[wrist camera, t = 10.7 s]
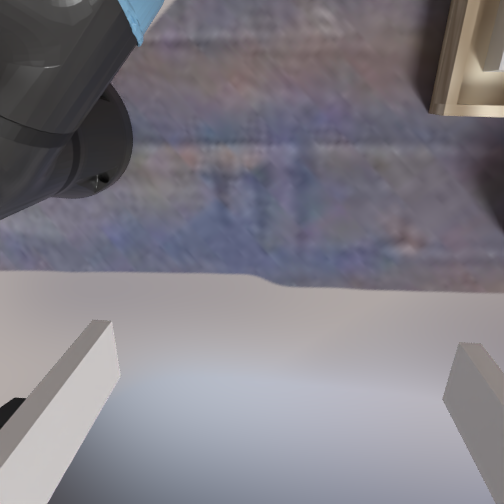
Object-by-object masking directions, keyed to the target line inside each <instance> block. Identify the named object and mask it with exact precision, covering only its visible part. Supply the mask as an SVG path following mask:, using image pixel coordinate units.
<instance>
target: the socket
mask: <svg viewBox="0 0 504 504" xmlns="http://www.w3.org/2000/svg"><path fill="white" fill-rule="evenodd" d="M483 72H504V0H500V3H499V7H498V11H497V15H496V19H495V23H494V28H493V32H492V36H491V40H490V44H489V48H488V52H487V56H486V60H485V64H484V68H483Z"/></svg>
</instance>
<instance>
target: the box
mask: <svg viewBox="0 0 504 504" xmlns="http://www.w3.org/2000/svg"><path fill="white" fill-rule="evenodd" d="M499 3H500V0H451V4H450V9H449V14H448V19H447V24H446V29H445V34H444V39H443V44H442V49H441V54H440V59H439V64H438V69H437V74H436V79H435V84H434V89H433V94H432V99H431V104H430V109H429V114H436V115H443V116H477V117H504V72H483V68H484V64H485V60H486V56H487V52H488V48H489V44H490V40H491V36H492V32H493V28H494V23H495V19H496V15H497V11H498V7H499Z"/></svg>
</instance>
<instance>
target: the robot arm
mask: <svg viewBox="0 0 504 504" xmlns="http://www.w3.org/2000/svg"><path fill="white" fill-rule="evenodd" d="M163 2H164V0H0V220H1V219H4V218H6V217H8V216H10V215H12V214H14V213H17V212H19V211H21V210H23V209H25V208H28V207H30V206H32V205H34V204H36V203H38V202H41V201H43V200H45V199H47V198H49V197H56V198H68V199H77V198H84V197H89V196H92V195H95V194H97V193H99V192H101V191H103V190H105V189H107V188H108V187H110V186H111V185H113V184H114V183H115V182H116V181H117V180H118V179H119V178H120V177H121V176H122V174H123V173H124V171H125V170H126V168H127V166H128V163H129V161H130V158H131V153H132V146H133V134H132V127H131V122H130V118H129V115H128V112H127V110H126V107H125V105H124V103H123V101H122V100H121V98H120V96H119V95H118V93H117V92H116V91H115V89H114V88H113V87H112V86H111V84H110V82H111V81H112V79H113V78H114V76H115V75H116V73H117V72H118V71H119V69H120V68H121V66H122V65H123V63H124V62H125V61H126V59H127V58H128V56H129V55H130V53H131V52H132V50H133V49H134V48H135V46H136V45H137V46H138V47H139V46H141V44H142V43H143V35H144V33H145V32H146V30H147V29H148V27H149V26H150V24H151V22H152V21H153V19H154V18H155V16H156V14H157V13H158V11H159V10H160V8H161V6H162V5H163ZM120 376H121V375H120V368H119V363H118V356H117V350H116V344H115V337H114V331H113V325H112V321H104V320H92V321H91V323H90V324H89V325H88V326H87V328H86V329H85V330H84V331H83V332H82V333H81V335H80V336H79V337H78V338H77V339H76V340H75V342H74V343H73V344H72V345H71V346H70V348H69V349H68V350H67V351H66V352H65V353H64V355H63V356H62V357H61V359H60V360H59V361H58V362H57V363H56V364H55V365H54V367H53V368H52V369H51V370H50V371H49V373H48V374H47V375H46V376H45V377H44V379H43V380H42V381H41V382H40V383H39V384H38V386H37V387H36V388H35V389H34V390H33V391H32V393H31V394H30V395H29V396H28V397H27V398H13V399H12V400H10V401H9V402H8V403H6V404H5V405H3V406H2V407H1V408H0V504H47V503H48V501H49V499H50V498H51V496H52V494H53V492H54V491H55V489H56V487H57V485H58V484H59V482H60V480H61V479H62V477H63V475H64V473H65V472H66V470H67V468H68V467H69V465H70V463H71V461H72V460H73V458H74V456H75V454H76V452H77V451H78V449H79V447H80V446H81V444H82V442H83V441H84V439H85V437H86V435H87V434H88V432H89V430H90V428H91V427H92V425H93V423H94V421H95V420H96V418H97V416H98V415H99V413H100V411H101V409H102V408H103V406H104V404H105V402H106V400H107V399H108V397H109V396H110V394H111V392H112V390H113V389H114V387H115V385H116V383H117V382H118V380H119V378H120ZM443 401H444V403H445V405H446V407H447V409H448V411H449V413H450V415H451V417H452V419H453V421H454V423H455V425H456V427H457V429H458V431H459V433H460V435H461V436H462V438H463V440H464V442H465V444H466V446H467V448H468V450H469V452H470V454H471V456H472V458H473V460H474V462H475V464H476V466H477V468H478V470H479V472H480V474H481V475H482V477H483V479H484V481H485V483H486V485H487V487H488V489H489V491H490V493H491V495H492V497H493V499H494V501H495V503H496V504H504V373H503V372H502V370H501V369H500V368H499V366H498V365H497V364H496V363H495V361H494V360H493V359H492V358H491V356H490V355H489V354H488V352H487V351H486V350H485V348H484V347H483V346H482V345H481V344H480V343H462V342H459V344H458V347H457V351H456V354H455V358H454V361H453V364H452V368H451V371H450V375H449V378H448V382H447V385H446V388H445V392H444V395H443Z"/></svg>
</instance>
